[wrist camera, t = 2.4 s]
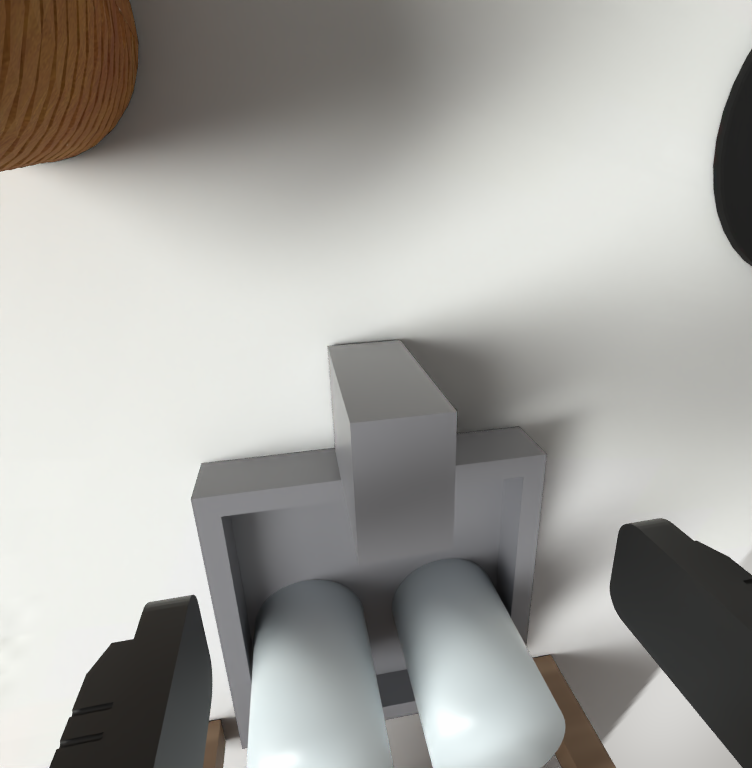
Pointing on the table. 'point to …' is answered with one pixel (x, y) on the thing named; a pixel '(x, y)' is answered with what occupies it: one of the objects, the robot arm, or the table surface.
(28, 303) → the table surface
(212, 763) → the small wooden table
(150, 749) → the robot arm
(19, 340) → the table surface
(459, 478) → the tray
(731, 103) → the wine glass
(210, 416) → the table surface
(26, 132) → the disposable coffee cup
